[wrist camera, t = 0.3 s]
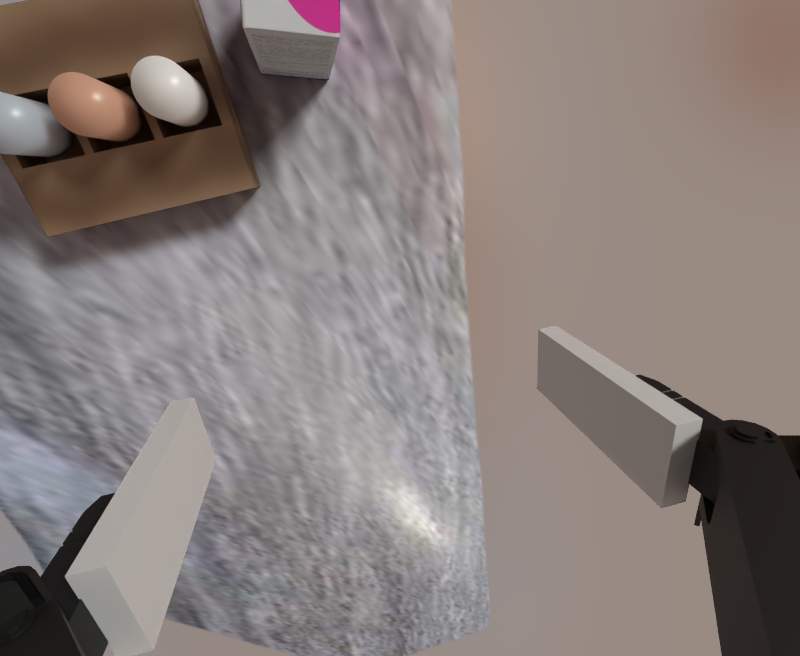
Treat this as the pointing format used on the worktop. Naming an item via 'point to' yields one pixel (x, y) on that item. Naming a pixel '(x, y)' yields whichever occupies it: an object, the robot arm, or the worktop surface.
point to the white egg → (169, 92)
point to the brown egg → (94, 108)
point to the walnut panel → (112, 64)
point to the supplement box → (293, 36)
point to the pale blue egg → (31, 128)
